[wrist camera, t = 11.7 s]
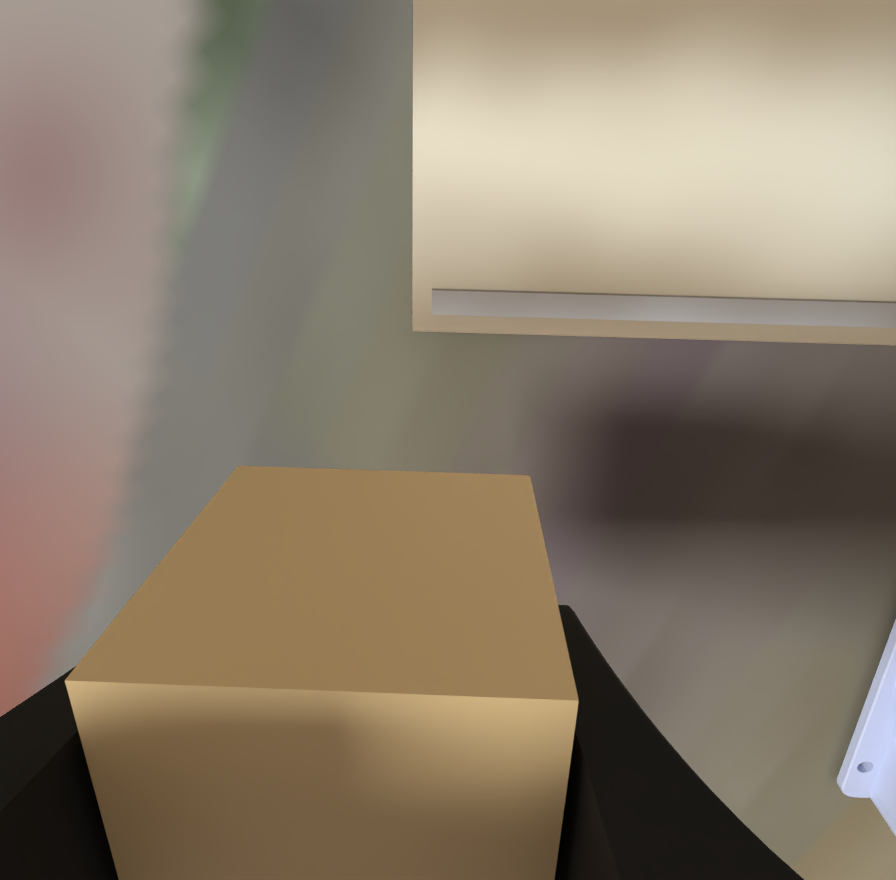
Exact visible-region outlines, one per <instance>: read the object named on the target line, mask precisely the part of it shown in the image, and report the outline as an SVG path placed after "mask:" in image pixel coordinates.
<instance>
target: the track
mask: <svg viewBox="0 0 896 880" xmlns="http://www.w3.org/2000/svg"><path fill="white" fill-rule="evenodd" d="M413 331H427V332H461V333H495V334H529V335H563V336H597V337H630V338H664V339H698V340H732V341H766V342H800V343H834V344H867V345H896V0H413Z"/></svg>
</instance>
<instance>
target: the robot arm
mask: <svg viewBox="0 0 896 880" xmlns="http://www.w3.org/2000/svg"><path fill="white" fill-rule="evenodd" d="M558 607H559V612H560V616H561V621H562V626H563V630H564V635H565V639H566V644H567V649H568V653H569V658H570V663H571V667H572V672H573V676H574V681H575V686H576V690H577V695H578V699H579V703H578V710H577V717H576V725H575V732H574V739H573V747H572V754H571V762H570V769H569V776H568V784H567V791H566V799H565V806H564V813H563V821H562V828H561V835H560V843H559V850H558V858H557V865H556V872H555V880H804V879H803V878H802V877H800V876H799V875H798V874H797V873H796V872H795V871H794V870H793V869H791V868H790V867H789V866H788V865H787V864H786V863H785V862H784V861H783V860H781V859H780V858H779V857H778V856H777V855H776V854H775V853H774V852H772V851H771V850H770V849H769V848H768V847H767V846H766V845H765V844H764V843H763V842H762V841H761V840H760V839H759V838H758V837H757V836H756V835H755V834H754V833H753V832H752V831H751V830H750V829H749V828H748V827H747V826H746V825H744V824H743V823H742V822H741V821H740V820H739V819H738V818H737V816H736V815H735V814H734V813H733V812H732V811H731V810H730V809H729V808H728V807H727V806H726V805H725V804H724V803H723V802H722V801H721V800H720V799H719V798H718V797H717V796H716V795H715V794H714V793H713V792H712V791H711V790H710V788H709V787H708V786H707V785H706V784H705V783H704V782H703V781H702V780H701V779H700V778H699V777H698V775H697V774H696V773H695V772H694V771H693V770H692V769H691V768H690V766H689V765H688V764H687V763H686V762H685V761H684V760H683V759H682V757H681V756H680V755H679V754H678V753H677V751H676V750H675V749H674V748H673V747H672V746H671V744H670V743H669V742H668V741H667V740H666V738H665V737H664V736H663V735H662V734H661V733H660V731H659V730H658V729H657V728H656V726H655V725H654V724H653V723H652V721H651V720H650V719H649V718H648V716H647V715H646V714H645V713H644V711H643V710H642V709H641V707H640V706H639V705H638V703H637V702H636V701H635V700H634V698H633V697H632V696H631V694H630V693H629V692H628V690H627V689H626V688H625V686H624V685H623V684H622V682H621V681H620V680H619V678H618V677H617V676H616V674H615V673H614V671H613V670H612V669H611V667H610V666H609V664H608V663H607V661H606V660H605V658H604V657H603V656H602V654H601V653H600V651H599V650H598V648H597V647H596V645H595V644H594V642H593V641H592V639H591V638H590V636H589V635H588V633H587V632H586V630H585V628H584V627H583V625H582V624H581V622H580V621H579V619H578V617H577V616H576V614H575V612H574V611H573V610H572V609H571V608H570V607H569V606H568V605H558ZM75 667H76V666H75ZM75 667H74V668H75ZM74 668H72V669H71V670H70V671H68V672H67V673H65V674H64V675H63V676H61V677H60V678H58V679H57V680H55V681H54V682H52V683H51V684H49V685H48V686H46V687H45V688H43V689H42V690H40V691H39V692H37V693H36V694H34V695H33V696H31V697H30V698H28V699H27V700H25V701H24V702H22V703H21V704H19V705H18V706H16V707H15V708H13V709H12V710H10V711H9V712H7V713H6V714H4V715H3V716H1V717H0V880H119V879H118V875H117V871H116V868H115V864H114V860H113V857H112V853H111V849H110V846H109V842H108V838H107V835H106V831H105V827H104V824H103V820H102V816H101V813H100V809H99V805H98V801H97V798H96V794H95V790H94V787H93V783H92V779H91V776H90V772H89V768H88V765H87V761H86V757H85V754H84V750H83V746H82V743H81V739H80V735H79V732H78V728H77V724H76V721H75V717H74V713H73V709H72V706H71V702H70V698H69V695H68V691H67V687H66V684H65V679H66V678H67V677H68V676H69V675H70V673H71V672H72V671H73V670H74ZM837 784H838V785H839V787H840V789H841V790H842V792H843V793H844V794H845V795H847V796H851V797H863V798H871V799H872V801H873V803H874V804H875V806H876V807H877V809H878V810H879V812H880V813H881V815H882V816H883V818H884V819H885V821H886V822H887V824H888V825H889V827H890V828H891V830H892V831H893V833H894V835H895V836H896V620H895V622H894V625H893V628H892V630H891V633H890V636H889V639H888V641H887V644H886V647H885V649H884V652H883V655H882V658H881V660H880V663H879V666H878V669H877V671H876V674H875V677H874V679H873V682H872V685H871V688H870V690H869V693H868V696H867V699H866V701H865V704H864V707H863V709H862V712H861V715H860V718H859V720H858V723H857V726H856V729H855V731H854V734H853V737H852V739H851V742H850V745H849V748H848V750H847V753H846V756H845V759H844V761H843V764H842V767H841V769H840V772H839V775H838V778H837Z"/></svg>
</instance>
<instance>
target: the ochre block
mask: <svg viewBox="0 0 896 880" xmlns="http://www.w3.org/2000/svg"><path fill="white" fill-rule="evenodd" d="M65 684H66V687H67V691H68V695H69V698H70V702H71V706H72V709H73V713H74V717H75V721H76V724H77V728H78V732H79V735H80V739H81V743H82V746H83V750H84V754H85V757H86V761H87V765H88V768H89V772H90V776H91V779H92V783H93V787H94V790H95V794H96V798H97V801H98V805H99V809H100V813H101V816H102V820H103V824H104V827H105V831H106V835H107V838H108V842H109V846H110V849H111V853H112V857H113V860H114V864H115V868H116V871H117V875H118V879H119V880H555V872H556V865H557V858H558V850H559V843H560V835H561V828H562V821H563V813H564V806H565V799H566V791H567V784H568V776H569V769H570V762H571V754H572V747H573V739H574V732H575V725H576V717H577V710H578V703H579V699H578V695H577V690H576V686H575V681H574V676H573V672H572V667H571V663H570V658H569V653H568V649H567V644H566V639H565V635H564V630H563V626H562V621H561V616H560V612H559V607H558V603H557V598H556V593H555V589H554V584H553V580H552V575H551V570H550V566H549V561H548V556H547V552H546V547H545V543H544V538H543V533H542V529H541V524H540V520H539V515H538V510H537V506H536V501H535V496H534V492H533V487H532V483H531V478H530V475H501V474H471V473H441V472H411V471H381V470H351V469H321V468H291V467H261V466H238V467H237V468H236V469H235V470H234V472H233V473H232V474H231V475H230V477H229V478H228V479H227V480H226V482H225V483H224V484H223V485H222V487H221V488H220V489H219V490H218V492H217V493H216V494H215V495H214V496H213V498H212V499H211V500H210V501H209V503H208V504H207V505H206V506H205V508H204V509H203V510H202V511H201V513H200V514H199V515H198V516H197V517H196V519H195V520H194V521H193V522H192V524H191V525H190V526H189V527H188V529H187V530H186V531H185V532H184V534H183V535H182V536H181V537H180V538H179V540H178V541H177V542H176V543H175V545H174V546H173V547H172V548H171V550H170V551H169V552H168V553H167V555H166V556H165V557H164V558H163V560H162V561H161V562H160V563H159V564H158V566H157V567H156V568H155V569H154V571H153V572H152V573H151V574H150V576H149V577H148V578H147V579H146V581H145V582H144V583H143V584H142V585H141V587H140V588H139V589H138V590H137V592H136V593H135V594H134V595H133V597H132V598H131V599H130V600H129V602H128V603H127V604H126V605H125V607H124V608H123V609H122V610H121V611H120V613H119V614H118V615H117V616H116V618H115V619H114V620H113V621H112V623H111V624H110V625H109V626H108V628H107V629H106V630H105V631H104V632H103V634H102V635H101V636H100V637H99V639H98V640H97V641H96V642H95V644H94V645H93V646H92V647H91V649H90V650H89V651H88V652H87V653H86V655H85V656H84V657H83V658H82V660H81V661H80V662H79V663H78V665H77V666H76V667H75V668H74V670H73V671H72V672H71V673H70V675H69V676H68V677H67V678H66V679H65Z"/></svg>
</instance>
